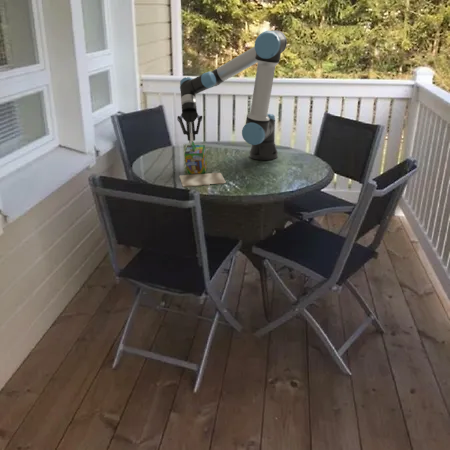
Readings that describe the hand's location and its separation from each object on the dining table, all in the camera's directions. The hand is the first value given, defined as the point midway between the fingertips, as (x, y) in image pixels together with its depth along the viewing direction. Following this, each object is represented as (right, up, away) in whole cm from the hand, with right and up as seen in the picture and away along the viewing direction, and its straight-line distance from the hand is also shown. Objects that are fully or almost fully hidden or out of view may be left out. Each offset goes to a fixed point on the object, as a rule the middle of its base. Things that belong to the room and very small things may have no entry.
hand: (192, 145), depth 251 cm
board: (+6, -18, -11) cm, 22 cm away
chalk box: (+3, -12, +2) cm, 12 cm away
